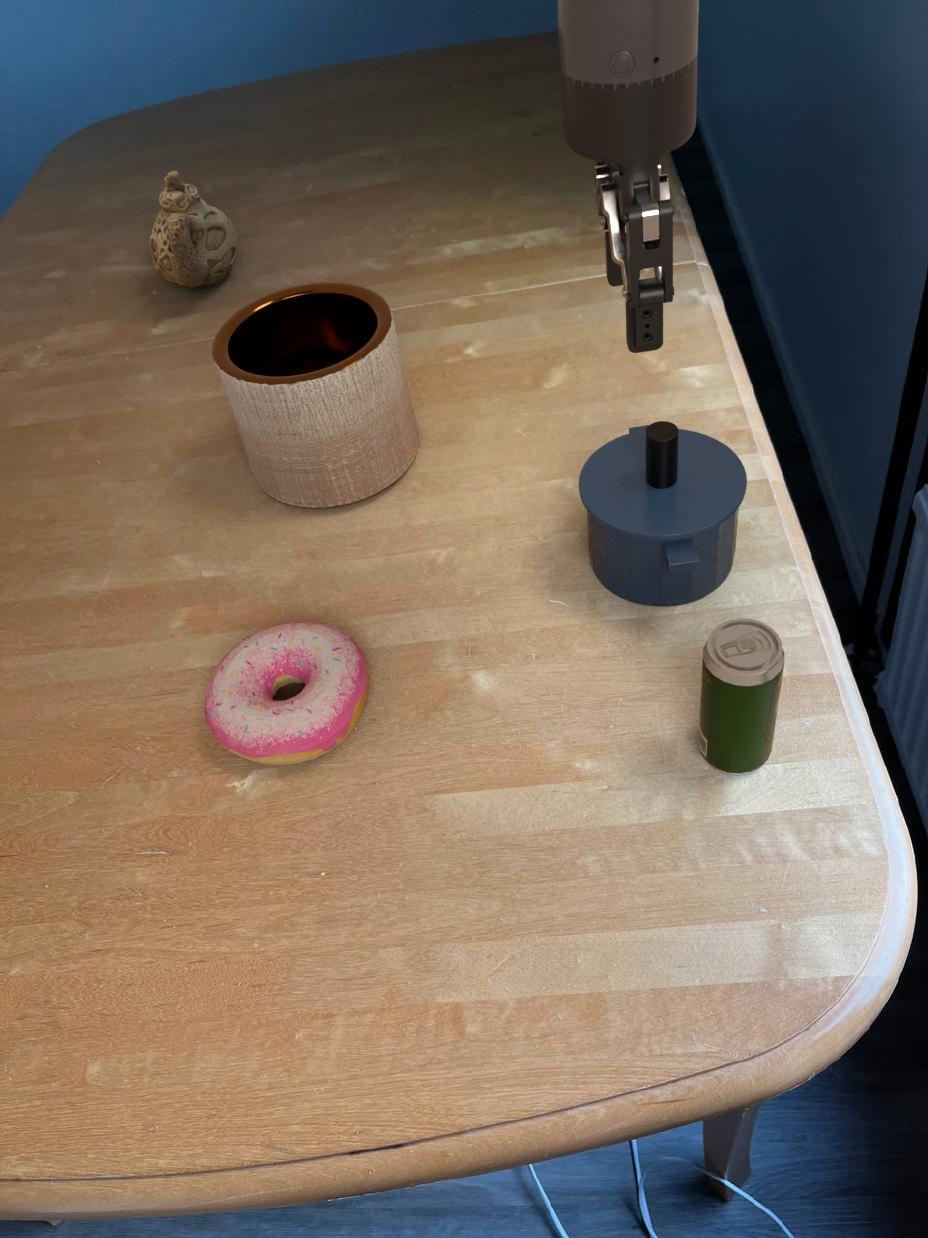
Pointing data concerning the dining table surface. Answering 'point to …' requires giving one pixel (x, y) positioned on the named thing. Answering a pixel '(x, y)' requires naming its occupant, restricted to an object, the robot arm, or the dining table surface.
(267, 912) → the dining table surface
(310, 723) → the donut
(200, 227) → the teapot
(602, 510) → the lid
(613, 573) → the blue cooking pot
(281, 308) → the planter
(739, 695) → the beer can
